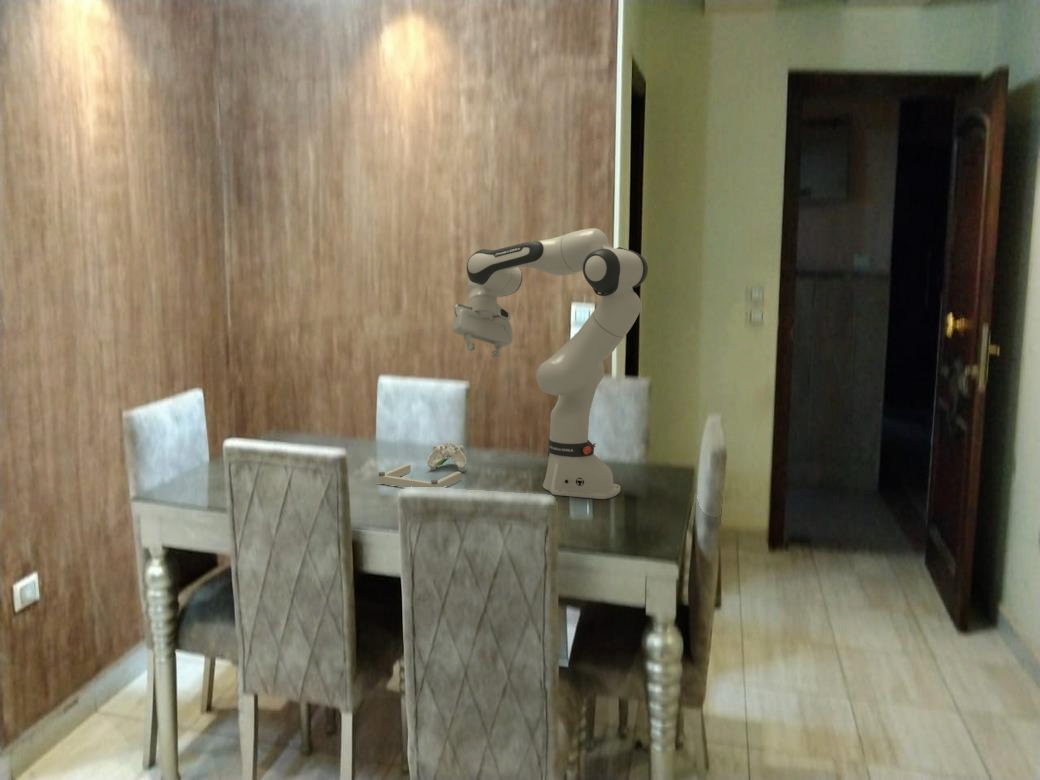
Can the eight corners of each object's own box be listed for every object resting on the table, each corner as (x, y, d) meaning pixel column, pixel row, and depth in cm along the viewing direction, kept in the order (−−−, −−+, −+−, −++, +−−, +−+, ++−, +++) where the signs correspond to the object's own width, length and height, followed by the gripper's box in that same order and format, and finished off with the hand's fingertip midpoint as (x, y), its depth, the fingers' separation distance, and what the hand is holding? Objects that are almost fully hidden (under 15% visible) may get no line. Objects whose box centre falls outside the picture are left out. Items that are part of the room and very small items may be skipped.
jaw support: (473, 454, 287) (469, 439, 279) (469, 479, 282) (465, 464, 274) (435, 453, 288) (430, 438, 280) (431, 477, 283) (426, 462, 275)
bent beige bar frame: (461, 480, 268) (461, 469, 268) (435, 493, 254) (435, 482, 254) (405, 471, 276) (405, 461, 276) (377, 484, 262) (377, 473, 262)
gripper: (461, 298, 264) (462, 342, 259) (514, 315, 277) (516, 357, 272) (448, 305, 268) (449, 348, 263) (501, 322, 281) (502, 363, 276)
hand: (483, 353), depth 268 cm, fingers open, 8 cm apart
